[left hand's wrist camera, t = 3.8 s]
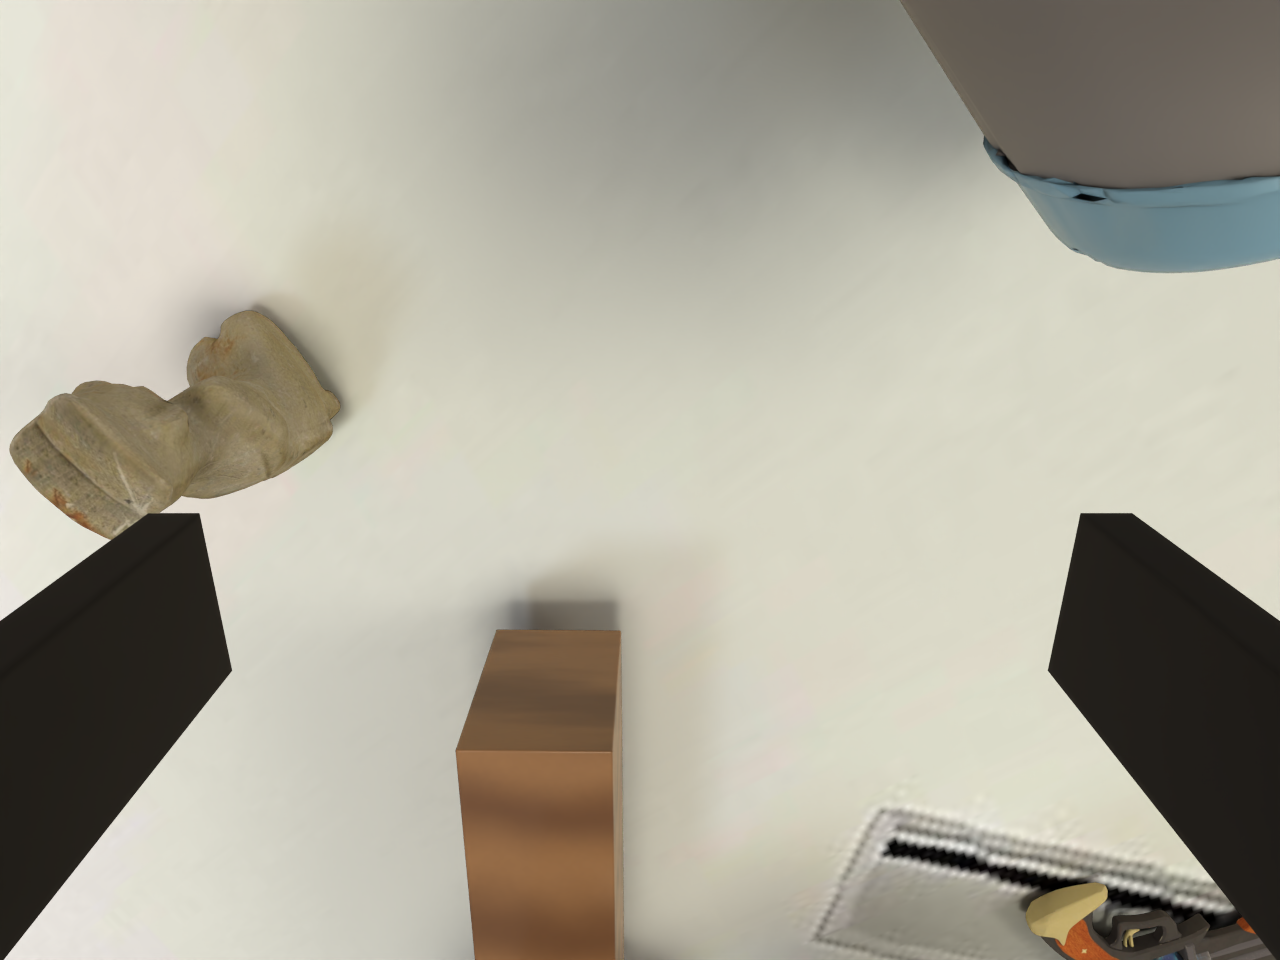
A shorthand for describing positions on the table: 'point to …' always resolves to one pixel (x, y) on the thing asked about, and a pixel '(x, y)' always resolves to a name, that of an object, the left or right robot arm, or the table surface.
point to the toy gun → (1166, 956)
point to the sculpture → (179, 431)
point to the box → (545, 797)
